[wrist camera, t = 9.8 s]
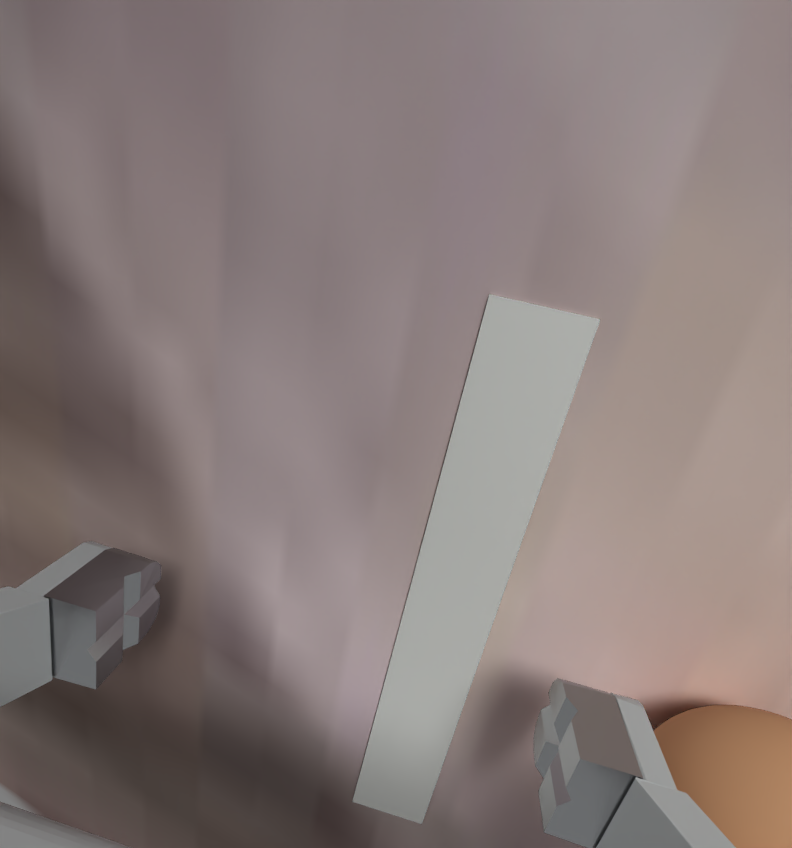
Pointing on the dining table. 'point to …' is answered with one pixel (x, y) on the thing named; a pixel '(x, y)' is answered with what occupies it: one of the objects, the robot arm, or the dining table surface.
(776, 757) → the ball
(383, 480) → the dining table surface
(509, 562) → the line
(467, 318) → the dining table surface
